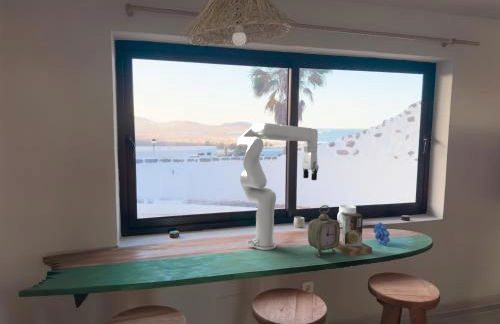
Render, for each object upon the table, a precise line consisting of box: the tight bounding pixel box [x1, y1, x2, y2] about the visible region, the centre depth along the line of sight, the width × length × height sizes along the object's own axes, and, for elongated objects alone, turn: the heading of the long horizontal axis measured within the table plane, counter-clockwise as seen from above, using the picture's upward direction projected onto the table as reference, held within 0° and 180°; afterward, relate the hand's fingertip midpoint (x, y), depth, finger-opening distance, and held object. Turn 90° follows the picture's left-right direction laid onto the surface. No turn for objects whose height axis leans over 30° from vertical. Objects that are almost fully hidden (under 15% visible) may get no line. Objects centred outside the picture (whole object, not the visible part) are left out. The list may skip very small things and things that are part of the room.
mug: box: [336, 204, 357, 227], centre depth 227 cm, size 15×11×13 cm
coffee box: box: [341, 212, 364, 246], centre depth 178 cm, size 9×6×16 cm
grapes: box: [373, 221, 390, 246], centre depth 189 cm, size 12×7×12 cm, turn 21°
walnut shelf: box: [334, 240, 373, 257], centre depth 179 cm, size 14×14×3 cm
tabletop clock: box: [307, 204, 341, 258], centre depth 172 cm, size 14×9×25 cm, turn 122°
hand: (309, 179), depth 200 cm, fingers open, 9 cm apart
